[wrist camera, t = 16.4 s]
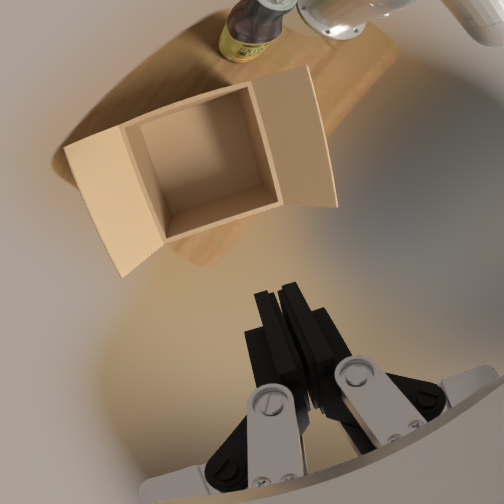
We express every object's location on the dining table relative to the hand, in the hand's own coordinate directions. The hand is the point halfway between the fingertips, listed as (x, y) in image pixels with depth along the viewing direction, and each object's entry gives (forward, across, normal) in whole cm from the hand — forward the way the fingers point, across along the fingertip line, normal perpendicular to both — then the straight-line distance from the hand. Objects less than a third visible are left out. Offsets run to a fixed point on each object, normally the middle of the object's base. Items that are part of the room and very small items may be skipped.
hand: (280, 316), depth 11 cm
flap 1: (+22, +13, -2) cm, 25 cm away
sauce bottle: (+36, -7, -18) cm, 40 cm away
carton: (+35, +2, -2) cm, 35 cm away
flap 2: (+22, -8, -3) cm, 24 cm away
